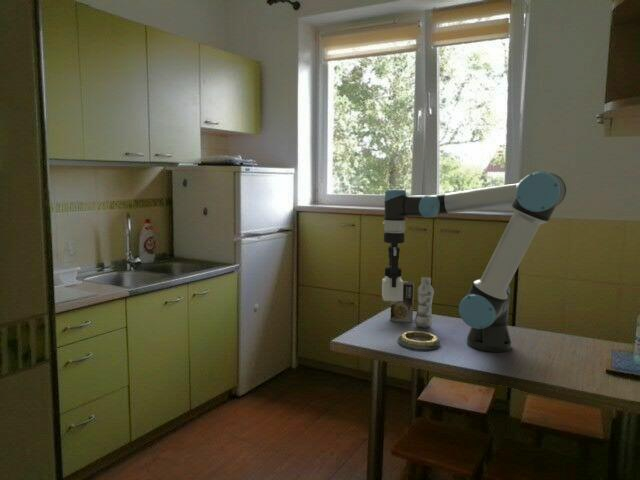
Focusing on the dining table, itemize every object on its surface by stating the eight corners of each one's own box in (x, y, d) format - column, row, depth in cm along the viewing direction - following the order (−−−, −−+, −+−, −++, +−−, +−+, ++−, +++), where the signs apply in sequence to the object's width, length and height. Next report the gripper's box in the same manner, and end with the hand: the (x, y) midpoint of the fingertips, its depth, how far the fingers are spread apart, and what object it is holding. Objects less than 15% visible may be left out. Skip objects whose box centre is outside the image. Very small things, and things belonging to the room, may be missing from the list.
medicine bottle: (403, 301, 178) (404, 268, 177) (383, 301, 178) (384, 268, 177) (400, 296, 185) (401, 265, 184) (381, 296, 185) (382, 265, 184)
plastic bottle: (414, 324, 200) (416, 276, 197) (431, 325, 199) (434, 276, 196) (415, 328, 194) (417, 279, 191) (432, 330, 193) (435, 280, 190)
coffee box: (412, 318, 208) (414, 281, 206) (411, 322, 202) (413, 284, 200) (391, 316, 210) (392, 279, 208) (389, 320, 204) (391, 282, 202)
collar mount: (436, 337, 184) (437, 331, 183) (443, 351, 169) (443, 344, 168) (396, 335, 185) (396, 329, 184) (399, 349, 170) (399, 342, 170)
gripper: (382, 229, 189) (381, 287, 192) (385, 234, 169) (383, 299, 172) (402, 229, 188) (400, 287, 191) (407, 234, 169) (405, 300, 171)
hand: (392, 293), depth 181 cm, fingers closed on medicine bottle, 7 cm apart
